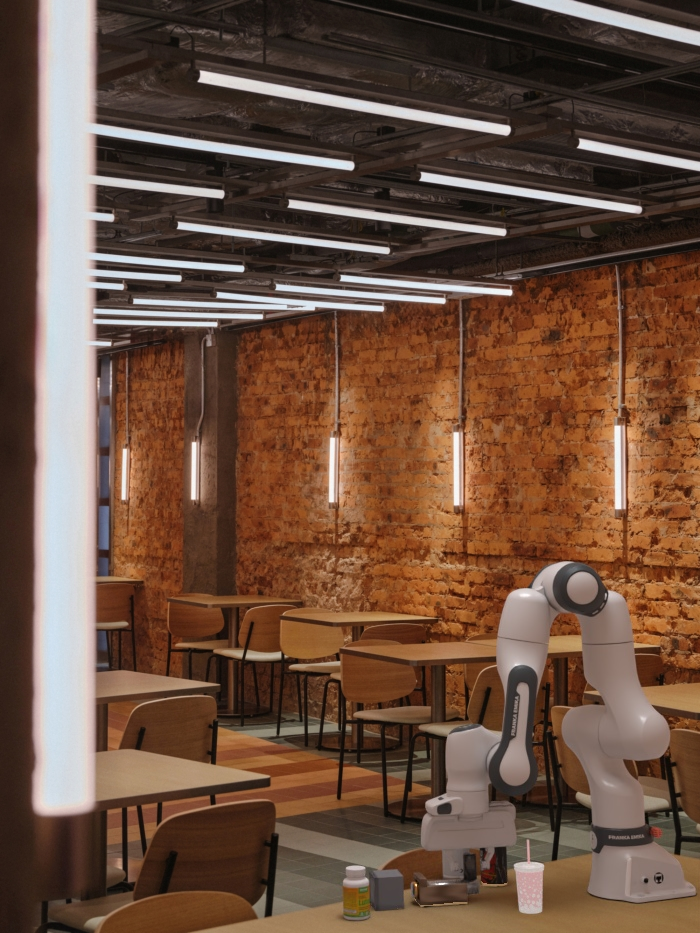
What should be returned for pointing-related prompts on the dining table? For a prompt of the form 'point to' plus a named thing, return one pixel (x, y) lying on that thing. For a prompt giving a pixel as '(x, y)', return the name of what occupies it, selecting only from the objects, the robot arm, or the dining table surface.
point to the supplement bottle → (356, 894)
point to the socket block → (386, 889)
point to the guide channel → (439, 891)
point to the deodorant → (495, 866)
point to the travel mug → (456, 857)
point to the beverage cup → (529, 885)
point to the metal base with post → (469, 879)
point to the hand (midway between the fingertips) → (469, 869)
